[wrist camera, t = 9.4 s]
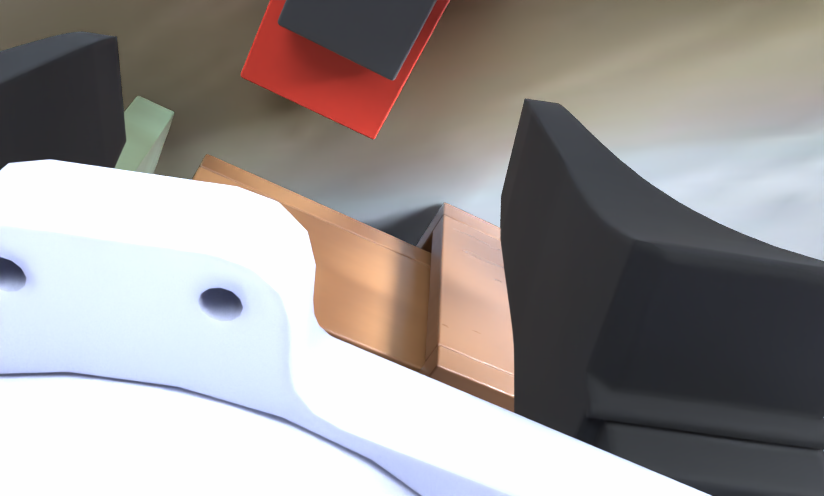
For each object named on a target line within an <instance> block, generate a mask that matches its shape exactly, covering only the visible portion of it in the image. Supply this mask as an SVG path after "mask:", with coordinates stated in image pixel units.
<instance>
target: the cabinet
mask: <svg viewBox="0 0 824 496" xmlns="http://www.w3.org/2000/svg"><path fill="white" fill-rule="evenodd" d="M416 247H418V248H421V249H423V250H425V251H427V252H430V253H432V254H431V271H430V288H429V304H428V321H427V338H426V355H425V362H426V363H425V364H424V365H423V367H422V368H421V369H420V371H419V372H418V373H420V374H422V375H425V376H427V377H430V378H432V379H434V380H437V381H439V382H441V383H444V384H446V385H449V386H451V387H453V388H456V389H458V390H461V391H463V392H465V393H468V394H470V395H472V396H475V397H477V398H480V399H482V400H484V401H487V402H489V403H492V404H494V405H496V406H499V407H501V408H503V409H506V410H508V411H511V412H513V413H514V344H513V331H512V323H511V316H510V308H509V301H508V294H507V286H506V279H505V272H504V264H503V256H502V248H501V240H500V228H499V227H497V226H495V225H493V224H491V223H488V222H486V221H484V220H482V219H480V218H478V217H476V216H473V215H471V214H469V213H467V212H465V211H463V210H460V209H458V208H456V207H454V206H452V205H450V204H447V203H443V204H442V206H441V207H440V209H439V211H438V212H437V214H436V215H435V217H434V218H433V220H432V222H431V223H430V225H429V226H428V228H427V229H426V231H425V232H424V234H423V236H422V237H421V239H420V240H419V242H418V243H417V245H416Z"/></svg>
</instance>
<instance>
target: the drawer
mask: <svg viewBox="0 0 824 496" xmlns="http://www.w3.org/2000/svg"><path fill="white" fill-rule="evenodd" d="M173 117H174V112H173V111H171V110H169V109H167V108H164V107H162V106H160V105H158V104H156V103H153V102H151V101H149V100H147V99H145V98H142V97H140V96H137V97H136V98H135V99H134V100H133V102H132V103H131V104H130V105H129V107H128V108H127V109H126V110H125V112H124V119H125V130H126V143H125V145H124V148H123V150H122V152H121V154H120V157H119V159H118V161H117V164H116V166H115V168H114V169H119V170H126V171H133V172H140V173H147V174H153V173H154V170H155V168H156V165H157V162H158V159H159V156H160V154H161V151H162V148H163V145H164V142H165V140H166V137H167V134H168V131H169V128H170V125H171V123H172V120H173ZM192 180H195V181H202V182H209V183H216V184H223V185H230V186H237V187H239V188H242V189H245V190H247V191H250V192H253V193H256V194H258V195H261V196H264V197H266V198H269V199H272V200H274V201H277V202H279V203H280V204H281V205H282V206H283V207H284V208H285V209H286V210H287V211H288V212H289V213H290V214H291V215H292V216H293V217H294V218H295V219H296V220H297V221H298V222H299V223H300V224H301V225H302V226H303V227H304V228H305V229H306V230H307V231H308V235H309V239H310V244H311V248H312V252H313V256H314V260H315V264H316V269H315V282H314V294H313V305H314V315H315V317H316V320H317V322H318V324H319V326H320V327H321V328H322V329H323V330H325V331H326V332H327V333H328V334H329V335H330V336H332V337H334V338H336V339H339V340H341V341H344V342H346V343H348V344H351V345H353V346H356V347H358V348H360V349H363V350H365V351H367V352H370V353H372V354H375V355H377V356H379V357H382V358H384V359H387V360H389V361H391V362H394V363H396V364H398V365H401V366H403V367H406V368H408V369H410V370H413V371H415V372H419V371H420V369H421V368H422V367H423V365H424V364H425V363H426V362H425V355H426V338H427V321H428V304H429V288H430V271H431V254H432V253H430V252H427V251H425V250H423V249H421V248H418V247H416V246H414V245H411V244H409V243H407V242H405V241H402V240H400V239H398V238H396V237H393V236H391V235H389V234H387V233H384V232H382V231H380V230H378V229H375V228H373V227H371V226H369V225H366V224H364V223H362V222H360V221H357V220H355V219H353V218H351V217H348V216H346V215H344V214H342V213H339V212H337V211H335V210H333V209H330V208H328V207H326V206H324V205H321V204H319V203H317V202H315V201H312V200H310V199H308V198H306V197H303V196H301V195H299V194H297V193H294V192H292V191H290V190H288V189H285V188H283V187H281V186H279V185H276V184H274V183H272V182H270V181H267V180H265V179H263V178H261V177H258V176H256V175H254V174H252V173H249V172H247V171H245V170H243V169H240V168H238V167H236V166H234V165H231V164H229V163H227V162H225V161H222V160H220V159H218V158H216V157H213V156H211V155H209V154H206V155H205V156H204V158H203V160H202V162H201V164H200V166H199V168H198V169H197V171H196V173H195V175H194V176H193V178H192Z"/></svg>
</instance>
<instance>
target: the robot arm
mask: <svg viewBox="0 0 824 496" xmlns="http://www.w3.org/2000/svg"><path fill="white" fill-rule="evenodd" d="M125 143H126V130H125V119H124V108H123V97H122V86H121V75H120V64H119V53H118V42H117V37H115V36H109V35H102V34H95V33H89V32H71V33H66V34H61V35H57V36H52V37H49V38H45V39H41V40H37V41H34V42H30V43H27V44H23V45H20V46H17V47H13V48H10V49H6V50H3V51H0V496H824V451H823V450H824V261H821V260H818V259H814V258H811V257H808V256H804V255H801V254H798V253H794V252H791V251H788V250H784V249H781V248H778V247H775V246H772V245H770V244H767V243H765V242H762V241H759V240H757V239H754V238H752V237H749V236H747V235H744V234H742V233H739V232H737V231H735V230H732V229H730V228H728V227H726V226H723V225H721V224H719V223H717V222H715V221H713V220H711V219H709V218H707V217H705V216H703V215H701V214H699V213H698V212H696V211H694V210H692V209H690V208H688V207H686V206H685V205H683V204H681V203H679V202H678V201H676V200H675V199H673V198H671V197H670V196H668V195H667V194H665V193H664V192H662V191H661V190H659V189H658V188H656V187H655V186H653V185H652V184H650V183H649V182H647V181H646V180H645V179H643V178H642V177H641V176H639V175H638V174H637V173H636V172H634V171H633V170H632V169H631V168H629V167H628V166H627V165H626V164H624V163H623V162H622V161H621V160H620V159H619V158H617V157H616V156H615V155H614V154H613V153H612V152H611V151H609V150H608V149H607V148H606V147H605V146H604V145H603V144H602V143H601V142H600V141H599V140H598V139H597V138H596V137H595V136H593V135H592V134H591V133H590V132H589V131H588V130H587V129H586V128H585V127H584V126H583V125H582V124H581V123H580V122H579V121H578V120H577V119H576V118H575V117H574V116H573V115H572V114H571V113H570V112H569V111H568V110H567V109H565V108H564V107H563V106H562V105H560V104H558V103H551V102H545V101H538V100H531V99H525V100H524V104H523V108H522V112H521V116H520V121H519V125H518V129H517V133H516V137H515V141H514V145H513V149H512V153H511V158H510V162H509V166H508V170H507V174H506V178H505V182H504V186H503V190H502V195H501V219H500V240H501V248H502V256H503V264H504V272H505V279H506V286H507V294H508V301H509V308H510V316H511V323H512V331H513V344H514V413H513V412H511V411H508V410H506V409H503V408H501V407H499V406H496V405H494V404H492V403H489V402H487V401H484V400H482V399H480V398H477V397H475V396H472V395H470V394H468V393H465V392H463V391H461V390H458V389H456V388H453V387H451V386H449V385H446V384H444V383H441V382H439V381H437V380H434V379H432V378H430V377H427V376H425V375H422V374H420V373H418V372H415V371H413V370H410V369H408V368H406V367H403V366H401V365H398V364H396V363H394V362H391V361H389V360H387V359H384V358H382V357H379V356H377V355H375V354H372V353H370V352H367V351H365V350H363V349H360V348H358V347H356V346H353V345H351V344H348V343H346V342H344V341H341V340H339V339H336V338H334V337H332V336H330V335H329V334H328V333H327V332H326V331H325V330H323V329H322V328H321V327H320V326H319V324H318V322H317V320H316V317H315V315H314V305H313V294H314V282H315V269H316V264H315V260H314V256H313V252H312V248H311V244H310V239H309V235H308V231H307V230H306V229H305V228H304V227H303V226H302V225H301V224H300V223H299V222H298V221H297V220H296V219H295V218H294V217H293V216H292V215H291V214H290V213H289V212H288V211H287V210H286V209H285V208H284V207H283V206H282V205H281V204H280V203H279V202H277V201H274V200H272V199H269V198H266V197H264V196H261V195H258V194H256V193H253V192H250V191H247V190H245V189H242V188H239V187H237V186H230V185H223V184H216V183H209V182H202V181H195V180H188V179H181V178H175V177H168V176H161V175H154V174H147V173H140V172H133V171H126V170H119V169H114V168H115V166H116V164H117V161H118V159H119V157H120V154H121V152H122V150H123V148H124V145H125Z"/></svg>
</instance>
